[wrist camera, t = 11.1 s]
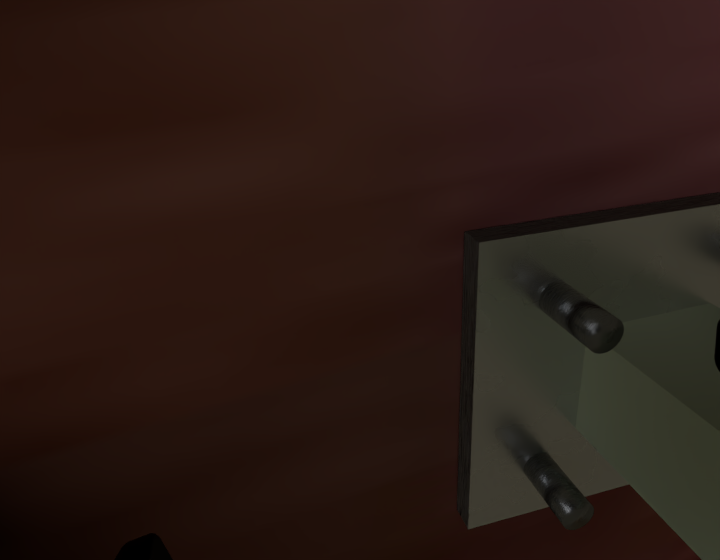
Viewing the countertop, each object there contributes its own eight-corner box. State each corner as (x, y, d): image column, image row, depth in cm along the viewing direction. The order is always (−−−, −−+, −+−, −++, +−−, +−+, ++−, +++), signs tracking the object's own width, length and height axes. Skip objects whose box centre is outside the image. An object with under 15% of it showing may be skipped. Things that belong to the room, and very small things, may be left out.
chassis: (457, 509, 27) (500, 586, 23) (464, 231, 21) (523, 276, 17) (733, 434, 31) (808, 491, 27) (806, 178, 25) (916, 206, 21)
